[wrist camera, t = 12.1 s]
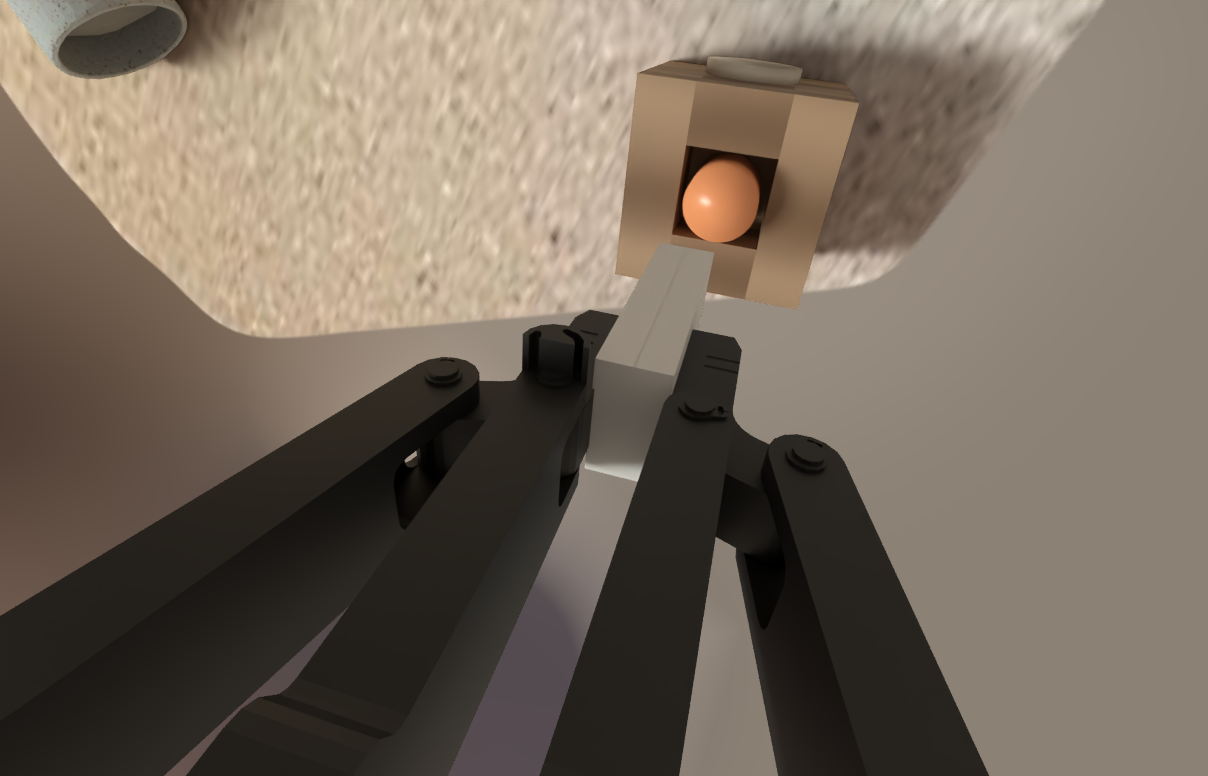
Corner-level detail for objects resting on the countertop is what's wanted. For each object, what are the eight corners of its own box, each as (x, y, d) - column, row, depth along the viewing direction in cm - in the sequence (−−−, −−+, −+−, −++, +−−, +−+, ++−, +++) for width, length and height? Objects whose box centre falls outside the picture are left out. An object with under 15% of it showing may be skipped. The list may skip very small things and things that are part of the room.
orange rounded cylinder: (699, 147, 28) (689, 161, 25) (768, 158, 27) (765, 173, 25) (687, 216, 29) (677, 235, 27) (752, 227, 29) (748, 248, 26)
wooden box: (672, 47, 31) (639, 57, 25) (849, 70, 30) (864, 86, 23) (647, 227, 36) (615, 274, 30) (796, 254, 35) (797, 309, 28)
